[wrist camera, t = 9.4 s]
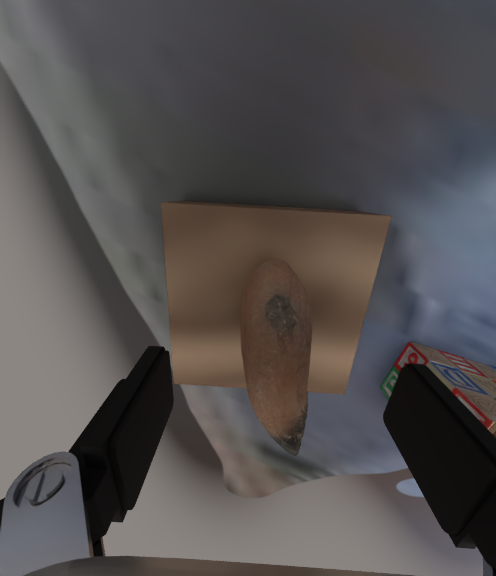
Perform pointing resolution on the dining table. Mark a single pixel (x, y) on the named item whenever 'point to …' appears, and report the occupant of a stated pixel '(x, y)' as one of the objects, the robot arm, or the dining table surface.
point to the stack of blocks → (454, 379)
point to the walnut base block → (240, 265)
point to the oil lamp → (277, 350)
